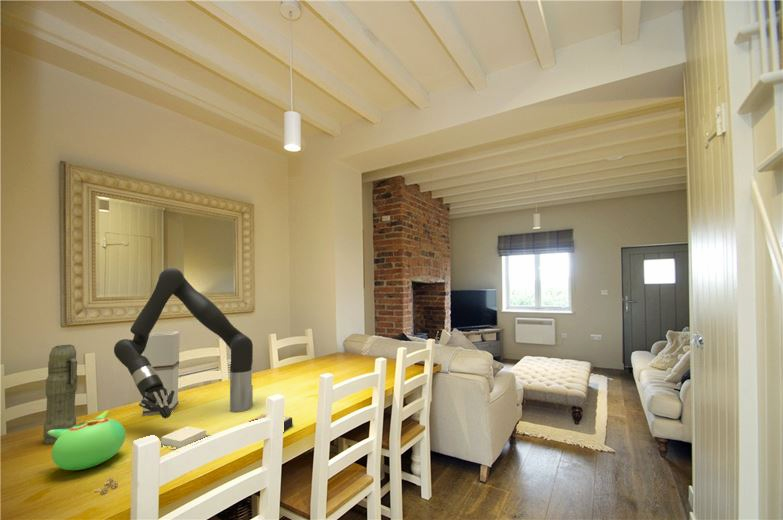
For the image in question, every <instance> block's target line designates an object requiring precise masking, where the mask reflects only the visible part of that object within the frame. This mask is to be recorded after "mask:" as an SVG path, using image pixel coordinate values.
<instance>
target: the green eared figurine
mask: <svg viewBox="0 0 783 520" xmlns="http://www.w3.org/2000/svg"><path fill="white" fill-rule="evenodd" d="M109 414H110V410H104V412H102V413H101V414H98V415H97V416H95V418H93V419H90V420H86V421H83V422H80V423H78V424H76V426H74V427H72V428H70V429H54V430H50V431H48V432H47V433H48V434H49V435H51V436H53V437H55V438H57V440H56V442H55V444H53V445H52V449H51V458H52V459H51V460H52V462H53V463H54V464H55V465H56V467H58V468H60V469H62V470H66V471H79V470H80V471H81V470H85V469H86V470H87V469H89V468H93V467H96V466H98V465H100V464H102V463H105V462H106V461H108V460H109V459H111V458H112V457H113V456H115V455H116V454H117V453H118V452H119V451H120V450H121V448H122V447H123V445H124V443H125V442H126V441H125V440H126V430H125V426H123V424H122V423H121V422H119V421H117V420H116V419H112V418H107V417H108V415H109Z"/></svg>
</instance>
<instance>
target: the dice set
mask: <svg viewBox="0 0 783 520" xmlns="http://www.w3.org/2000/svg"><path fill="white" fill-rule="evenodd" d="M114 478H115V477H109V478H108V479H107V480H106V482H104V483H103V484H104V486H102V488H101V489H100V488H96V489H94V491H93V493H98V492H99V493H100V495H106V494H108V492H109V491H108V490H109V488H110V489H111V490H115V489H116V488H118V480H117V481H116V480H115V481H114Z"/></svg>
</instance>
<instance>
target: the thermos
mask: <svg viewBox="0 0 783 520" xmlns="http://www.w3.org/2000/svg"><path fill="white" fill-rule="evenodd" d="M47 363H48V366H47V367H48V369H47V370H48V375H47V377H46V380H45V393H44V394H45V396H46V414H45V415H46V416H45V417H46V418H45V422H44V424H43V432H42V433H43V434H42V435H43V445H45V446H51V445H52V444H53V445H54V444H55V442H56V440H57V438H55V437H53V436H51V435H49V434H48V433H47V432H48V431H50V430H54V429H70V428H72V427H74V426H76V425H77V417H76V415H75V413H76V411H75V409H76V392H77V390H78V373H77V372H78V371H77V370H78V361H77V350H76V348H75V345H73V344H61V345H59V344H58V345H55V346H54V347H52V348H51V350H50V353H49V356H48V362H47ZM53 445H52V446H53Z"/></svg>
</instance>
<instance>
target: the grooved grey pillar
mask: <svg viewBox="0 0 783 520" xmlns="http://www.w3.org/2000/svg"><path fill="white" fill-rule="evenodd" d="M180 332H181V331H167V332H152V333H151V335H150V334H149V338H148V341H147V345H146V348H145V350H144V352H143V356H145V357H146V358H147V359H148V360H149V362H150V364H151V366H152V367H153V368H154V369H155V371H156V373H157V374H158V376H159V378H160V379H161V381H162V383H163V387H164V388H166V389H167V391H170V392H171V391H174V396H173V399H172V403H171V404H170V405H169V409H170V411H171V412H172V411H173V410H174V409H175V408H176V409H177V407H178V406H179V368H180V338H181V337H180V336H181V335H180V334H181V333H180ZM166 399H167V395H166ZM166 401H167V400H166ZM177 405H178V406H177ZM176 409H175V410H176ZM175 410H174V411H175ZM174 411H173V412H174ZM173 412H172V413H173ZM153 414H156V415H161V414H160V412H159V411H154V412H152V411H150V410H148V409H145V408H143V407H142V417H146V415H148V416H154V415H153Z"/></svg>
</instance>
